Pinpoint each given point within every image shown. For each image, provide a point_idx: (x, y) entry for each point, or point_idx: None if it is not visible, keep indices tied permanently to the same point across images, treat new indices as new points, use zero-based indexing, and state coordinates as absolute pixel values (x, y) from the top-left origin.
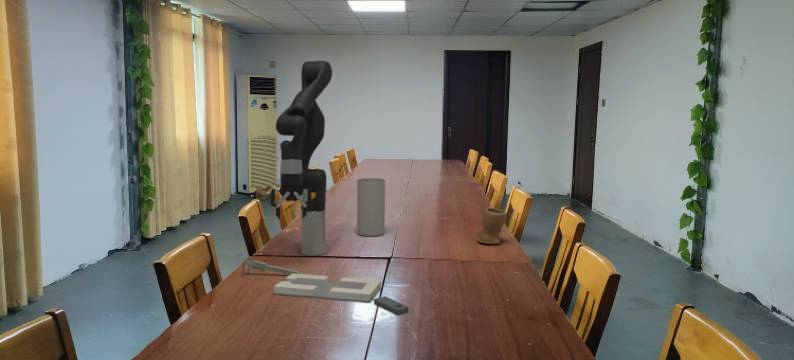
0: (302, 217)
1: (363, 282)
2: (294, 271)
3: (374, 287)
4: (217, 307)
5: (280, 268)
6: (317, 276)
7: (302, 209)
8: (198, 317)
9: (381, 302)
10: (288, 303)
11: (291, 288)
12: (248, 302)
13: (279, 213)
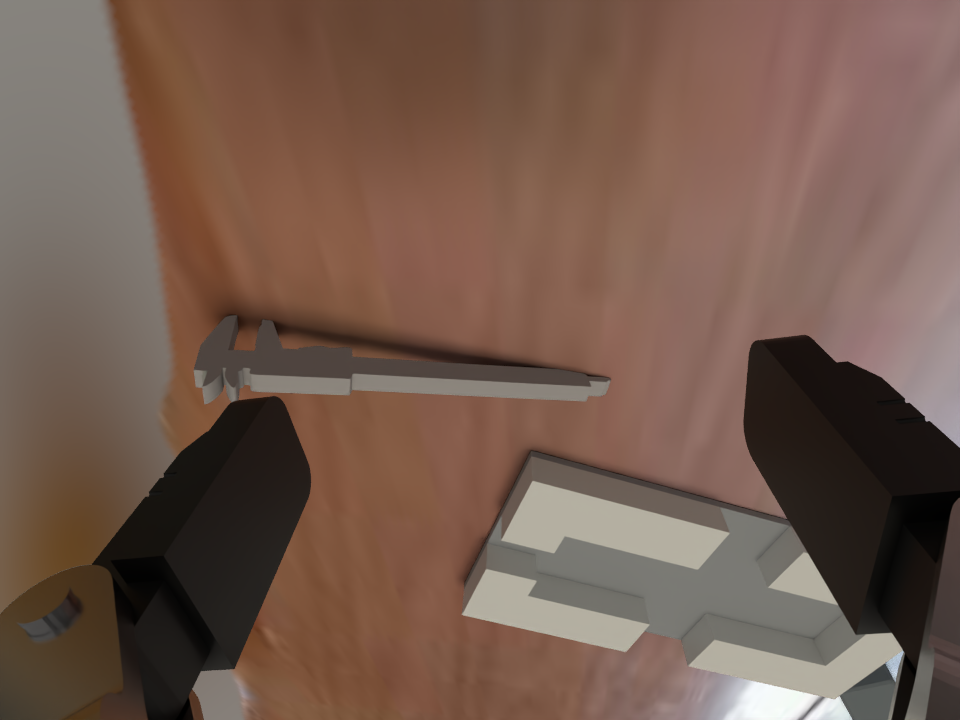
0: (747, 399)
1: None
2: (542, 395)
3: (890, 655)
4: (296, 650)
5: (451, 392)
6: (669, 531)
7: (836, 527)
8: (275, 693)
9: (850, 711)
10: (528, 646)
11: (537, 629)
12: (385, 630)
13: (269, 558)
